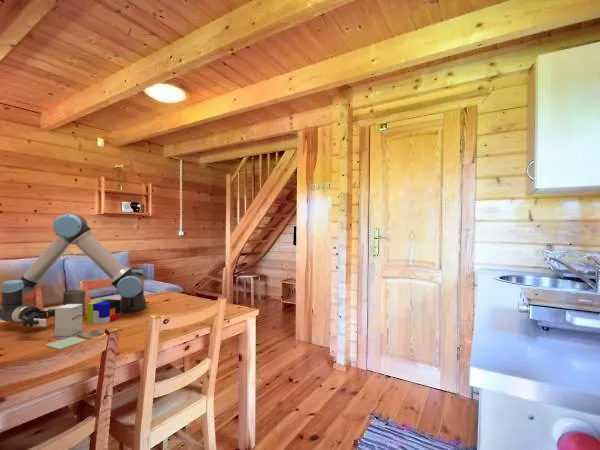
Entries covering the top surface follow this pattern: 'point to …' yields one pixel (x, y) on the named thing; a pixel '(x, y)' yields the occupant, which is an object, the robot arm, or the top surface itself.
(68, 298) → the pillar candle
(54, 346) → the sage pad
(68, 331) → the supplement box
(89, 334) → the walnut pad
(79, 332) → the tile
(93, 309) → the puzzle toy
